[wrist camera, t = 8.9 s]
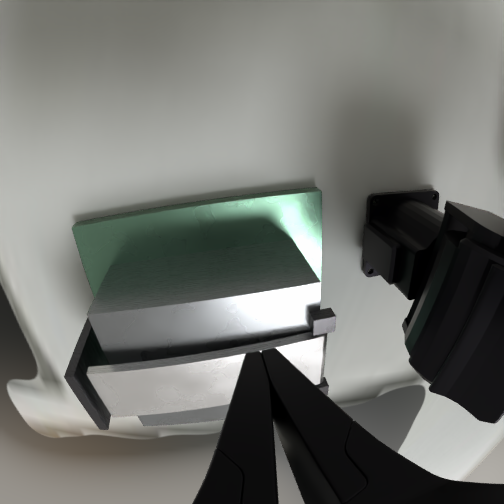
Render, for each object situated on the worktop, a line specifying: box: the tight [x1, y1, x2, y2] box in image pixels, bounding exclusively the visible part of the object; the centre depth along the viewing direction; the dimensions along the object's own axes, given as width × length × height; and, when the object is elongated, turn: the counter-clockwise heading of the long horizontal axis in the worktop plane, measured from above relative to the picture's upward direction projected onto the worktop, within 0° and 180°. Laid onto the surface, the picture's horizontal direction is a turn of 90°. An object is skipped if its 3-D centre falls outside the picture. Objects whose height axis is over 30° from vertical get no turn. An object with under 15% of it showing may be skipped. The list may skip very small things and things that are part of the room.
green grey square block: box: [64, 187, 336, 430], centre depth 19 cm, size 16×16×8 cm
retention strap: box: [87, 332, 327, 417], centre depth 17 cm, size 13×4×1 cm, turn 95°
